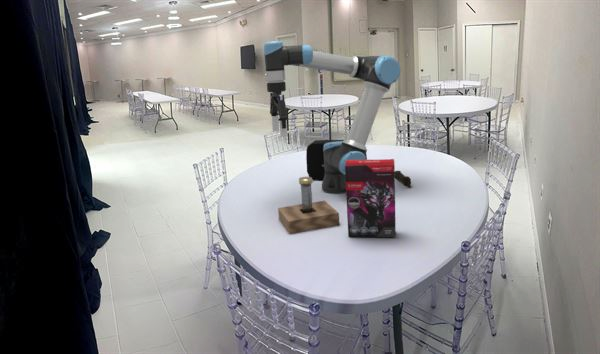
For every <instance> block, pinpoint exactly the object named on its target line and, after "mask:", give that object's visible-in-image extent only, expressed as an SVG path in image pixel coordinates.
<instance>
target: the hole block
mask: <svg viewBox="0 0 600 354" xmlns="http://www.w3.org/2000/svg"><path fill="white" fill-rule="evenodd" d="M312 208H313V212H310V213H304V214H303V211H302V203H301V204H300V203H299V204H295V205H287V206H282V207H277V212H278V221H280V223H281V224H282V226H283V228H285V230H286V232H287V233H288V234H289V235H292V234H296V233H297V234H298V233H302V232H308V231H313V230H319V229H325V228H329V227H330V228H331V227H336V226H340V212H339V211H337V210H336V209H335V208H334V207H333V206H331V204H330V203H329V202H327V201H326V200H318V201H314V202H313V201H312Z"/></svg>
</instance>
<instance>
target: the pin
mask: <svg viewBox="0 0 600 354" xmlns="http://www.w3.org/2000/svg"><path fill="white" fill-rule="evenodd" d="M298 184H299V185H300V193H301V204H302V211H303V214H304V213H310V212H313V208H312V202H313V195H312V193H313V192H312V184H313V179H312V177H309V176H302V177H299V178H298Z"/></svg>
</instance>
